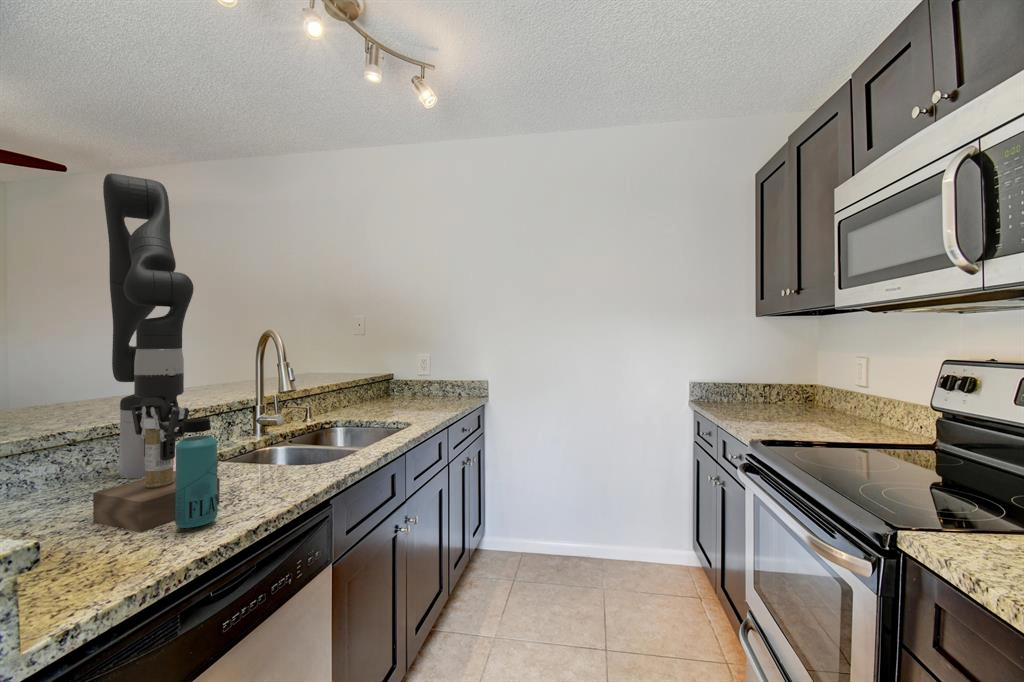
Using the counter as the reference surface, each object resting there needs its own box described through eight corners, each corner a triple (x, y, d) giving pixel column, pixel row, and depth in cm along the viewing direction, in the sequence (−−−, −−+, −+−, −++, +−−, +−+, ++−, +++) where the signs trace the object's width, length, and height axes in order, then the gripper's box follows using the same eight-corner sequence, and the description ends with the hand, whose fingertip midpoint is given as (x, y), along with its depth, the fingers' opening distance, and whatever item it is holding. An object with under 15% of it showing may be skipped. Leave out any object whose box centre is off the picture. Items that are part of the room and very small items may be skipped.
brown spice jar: (173, 479, 87) (173, 414, 87) (174, 485, 84) (174, 417, 84) (144, 484, 84) (144, 416, 84) (143, 490, 81) (143, 419, 81)
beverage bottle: (183, 540, 73) (183, 423, 73) (167, 531, 76) (167, 419, 76) (225, 526, 78) (225, 418, 78) (208, 518, 82) (208, 414, 82)
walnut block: (93, 524, 80) (93, 492, 80) (174, 498, 93) (174, 471, 93) (141, 536, 75) (141, 502, 75) (219, 507, 88) (219, 478, 88)
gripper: (114, 371, 83) (114, 459, 83) (161, 374, 78) (161, 467, 78) (157, 369, 90) (157, 450, 90) (203, 371, 85) (203, 457, 85)
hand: (159, 457), depth 84 cm, fingers closed on brown spice jar, 4 cm apart
